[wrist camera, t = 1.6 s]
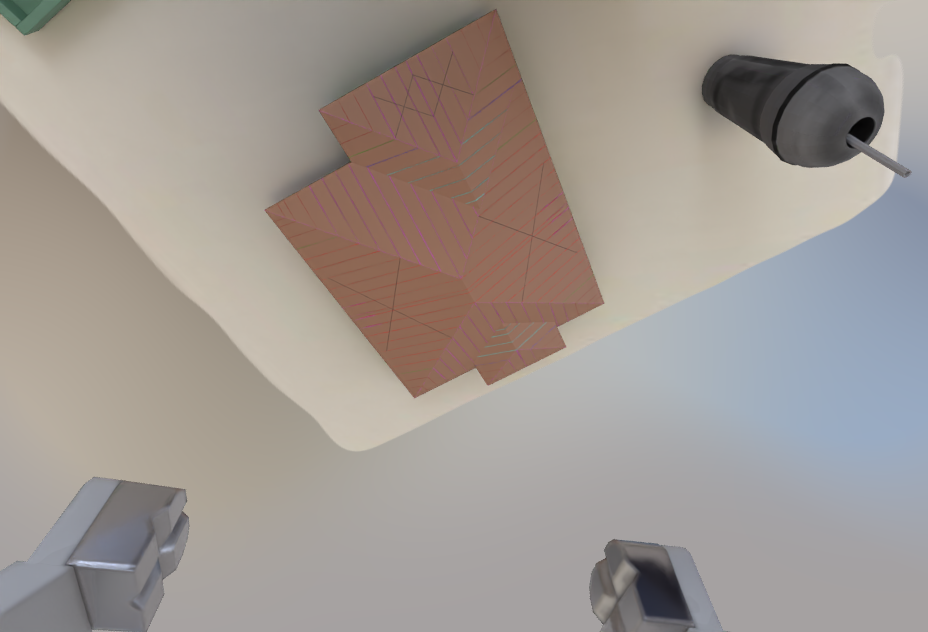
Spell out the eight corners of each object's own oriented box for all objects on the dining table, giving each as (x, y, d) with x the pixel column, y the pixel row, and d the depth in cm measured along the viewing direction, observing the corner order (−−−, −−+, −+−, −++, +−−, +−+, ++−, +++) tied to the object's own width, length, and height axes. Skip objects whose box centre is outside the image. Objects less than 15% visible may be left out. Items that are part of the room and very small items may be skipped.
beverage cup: (777, 45, 47) (1004, 103, 32) (738, 128, 51) (923, 216, 36) (710, 29, 45) (917, 82, 30) (674, 116, 49) (840, 204, 33)
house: (421, 392, 63) (432, 445, 56) (232, 148, 43) (215, 187, 36) (598, 304, 61) (631, 348, 54) (485, 3, 41) (515, 17, 34)
